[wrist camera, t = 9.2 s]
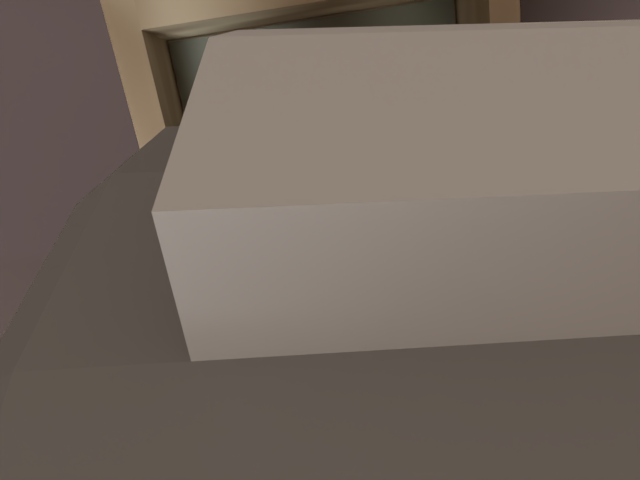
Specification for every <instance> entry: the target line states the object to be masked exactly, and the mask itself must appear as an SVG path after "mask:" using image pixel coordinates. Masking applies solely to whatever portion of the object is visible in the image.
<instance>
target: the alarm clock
mask: <svg viewBox="0 0 640 480" xmlns="http://www.w3.org/2000/svg"><path fill="white" fill-rule="evenodd" d="M0 480H640V20H604V21H566V22H527V23H488V24H450V25H411V26H372V27H333V28H295V29H256V30H236V31H232V32H228V33H224V34H220V35H216V36H212V37H209V38H208V41H207V44H206V47H205V50H204V53H203V56H202V59H201V62H200V65H199V68H198V71H197V74H196V77H195V80H194V83H193V86H192V89H191V93H190V96H189V99H188V102H187V105H186V108H185V111H184V114H183V117H182V120H181V123H180V126H170V127H165V128H164V129H163V130H162V131H161V132H159V133H158V134H157V135H156V136H155V137H154V138H152V139H151V140H150V141H149V142H148V143H147V144H145V145H144V146H143V147H142V148H141V149H140V150H138V151H137V152H136V153H135V154H134V155H133V156H132V157H130V158H129V159H128V160H127V161H126V162H125V163H123V164H122V165H121V166H120V167H119V168H118V169H117V170H115V171H114V172H113V173H112V174H111V175H110V176H109V177H107V178H106V179H105V180H104V181H103V182H102V183H101V184H99V185H98V186H97V187H96V188H95V189H94V190H93V191H91V192H90V193H89V194H88V195H87V196H86V197H85V198H83V199H82V200H81V201H80V202H79V203H78V204H77V205H76V207H75V208H74V210H73V212H72V214H71V216H70V217H69V219H68V221H67V223H66V225H65V226H64V228H63V230H62V232H61V233H60V235H59V237H58V239H57V241H56V242H55V244H54V246H53V248H52V250H51V251H50V253H49V255H48V257H47V258H46V260H45V262H44V264H43V266H42V267H41V269H40V271H39V273H38V275H37V276H36V278H35V280H34V282H33V283H32V285H31V287H30V289H29V291H28V292H27V294H26V296H25V298H24V300H23V301H22V303H21V305H20V307H19V308H18V310H17V312H16V314H15V316H14V317H13V319H12V321H11V323H10V325H9V326H8V328H7V330H6V332H5V333H4V335H3V337H2V339H1V341H0Z"/></svg>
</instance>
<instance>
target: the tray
mask: <svg viewBox="0 0 640 480" xmlns="http://www.w3.org/2000/svg"><path fill="white" fill-rule="evenodd" d="M100 1H101V5H102V9H103V13H104V16H105V20H106V24H107V28H108V31H109V35H110V39H111V43H112V46H113V50H114V54H115V58H116V61H117V65H118V69H119V73H120V76H121V80H122V84H123V88H124V91H125V95H126V99H127V103H128V106H129V110H130V114H131V118H132V121H133V125H134V129H135V133H136V136H137V140H138V144H139V148H140V149H141V148H142V147H143V146H144V145H145V144H147V143H148V142H149V141H150V140H151V139H152V138H154V137H155V136H156V135H157V134H158V133H159V132H161V131H162V130H163V129H164V128H165V127H170V126H180V123H181V120H182V117H183V114H184V111H185V108H186V105H187V102H188V99H189V96H190V93H191V89H192V86H193V83H194V80H195V77H196V74H197V71H198V68H199V65H200V62H201V59H202V56H203V53H204V50H205V47H206V44H207V41H208V38H209V37H212V36H216V35H220V34H224V33H228V32H232V31H236V30H256V29H295V28H333V27H372V26H411V25H450V24H488V23H520V0H100Z"/></svg>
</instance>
